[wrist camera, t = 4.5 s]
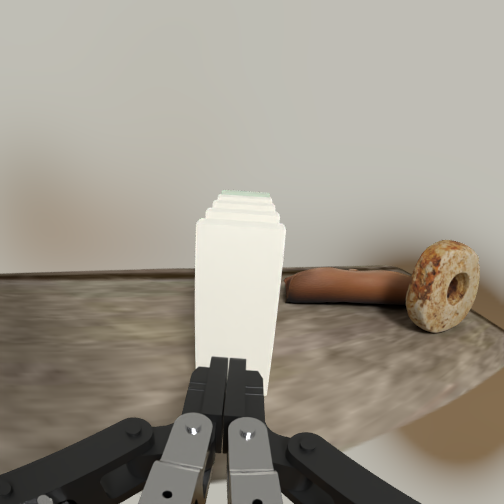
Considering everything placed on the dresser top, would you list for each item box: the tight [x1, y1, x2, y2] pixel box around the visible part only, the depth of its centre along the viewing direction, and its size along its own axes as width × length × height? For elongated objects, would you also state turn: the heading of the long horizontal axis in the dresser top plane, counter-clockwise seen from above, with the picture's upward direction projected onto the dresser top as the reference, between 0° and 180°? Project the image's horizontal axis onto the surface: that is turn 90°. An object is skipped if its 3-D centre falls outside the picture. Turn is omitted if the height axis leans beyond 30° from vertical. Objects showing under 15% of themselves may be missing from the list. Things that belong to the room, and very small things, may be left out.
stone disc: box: [406, 240, 480, 333], centre depth 30 cm, size 10×4×10 cm, turn 104°
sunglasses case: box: [284, 267, 412, 305], centre depth 39 cm, size 18×7×7 cm
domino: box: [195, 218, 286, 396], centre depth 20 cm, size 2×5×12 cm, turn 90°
